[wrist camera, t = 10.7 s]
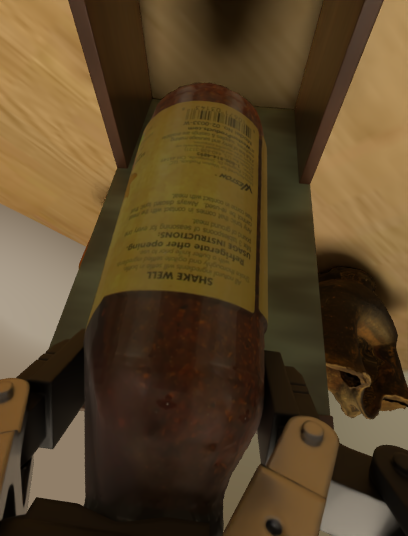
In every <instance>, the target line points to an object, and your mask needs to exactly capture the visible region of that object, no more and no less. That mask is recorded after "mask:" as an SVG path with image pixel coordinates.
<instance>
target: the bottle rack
mask: <svg viewBox="0 0 408 536" xmlns="http://www.w3.org/2000/svg"><path fill="white" fill-rule="evenodd" d="M68 1H69V4H70V8H71V11H72V15H73V18H74V22H75V25H76V28H77V32H78V35H79V39H80V42H81V45H82V49H83V52H84V56H85V59H86V63H87V66H88V69H89V73H90V76H91V80H92V83H93V87H94V90H95V93H96V97H97V100H98V104H99V107H100V110H101V114H102V117H103V121H104V124H105V128H106V131H107V134H108V138H109V141H110V145H111V148H112V151H113V155H114V158H115V162H116V165H117V170H116V173H115V175H114V178H113V181H112V183H111V186H110V188H109V191H108V194H107V196H106V199H105V202H104V204H103V207H102V210H101V212H100V215H99V217H98V220H97V223H96V225H95V228H94V231H93V233H92V236H91V239H90V241H89V244H88V246H87V249H86V252H85V254H84V257H83V260H82V262H81V265H80V268H79V270H78V273H77V276H76V278H75V281H74V284H73V286H72V289H71V291H70V294H69V297H68V299H67V302H66V305H65V307H64V310H63V313H62V315H61V318H60V320H59V323H58V326H57V329H56V331H55V334H54V336H53V339H52V341H51V344H50V347H49V349H50V348H51V347H52V346H53V345H54V344H57V343H59V342H61V341H63V340H65V339H71V338H72V337H73V336H74V335H75V334H76V333H77V332H79V331H80V330H81V329H82V328H85V329H86V327H87V323H88V320H89V316H90V313H91V309H92V305H93V301H94V297H95V296H96V292H97V289H98V286H99V282H100V278H101V275H102V271H103V268H104V263H105V259H106V258H107V254H108V250H109V247H110V244H111V240H112V236H113V233H114V229H115V226H116V223H117V220H118V216H119V213H120V209H121V205H122V202H123V199H124V196H125V192H126V188H127V185H128V181H129V178H130V174H131V171H132V168H133V164H134V161H135V158H136V154H137V151H138V148H139V144H140V141H141V138H142V135H143V132H144V130H145V128H146V126H147V124H148V123H149V122H150V121H151V118H152V116H153V114H154V112H155V109H156V107H157V105H158V103H159V102H160V101H161V100H157V99H152V94H151V87H150V80H149V73H148V65H147V58H146V51H145V44H144V36H143V29H142V22H141V15H140V7H139V0H68ZM383 1H384V0H324V1H323V5H322V9H321V13H320V16H319V20H318V24H317V27H316V31H315V35H314V39H313V42H312V46H311V50H310V54H309V57H308V61H307V65H306V68H305V72H304V76H303V80H302V83H301V87H300V91H299V94H298V98H297V102H296V106H295V109H294V110H293V109H280V108H266V107H254V108H255V110H256V111H257V113H258V115H259V118H260V121H261V125H262V128H263V134H264V139H265V143H266V147H267V240H268V327H267V331H266V332H265V334H264V342H265V348H264V350H268V351H276V352H280V353H281V356H282V359H283V362H284V365H285V366H291V367H294V368H295V369H296V370H297V371H298V372H299V373H300V374H301V375H302V376H303V378H304V381H305V383H306V387H307V388H308V391H309V394H310V396H311V398H312V401H313V403H314V406H315V408H316V411H317V413H318V416H319V418H320V420H321V421H323V422H325V423H326V424H327V425H329V426H330V427H331V428H332V429H333V430H334V425H333V417H332V416H330V409H329V398H328V385H327V374H326V362H325V351H324V339H323V328H322V316H321V305H320V294H319V282H318V271H317V259H316V248H315V236H314V225H313V213H312V202H311V190H310V183H311V181H312V178H313V176H314V173H315V171H316V168H317V166H318V163H319V161H320V158H321V156H322V153H323V151H324V148H325V146H326V143H327V141H328V138H329V136H330V133H331V131H332V128H333V126H334V123H335V121H336V118H337V116H338V113H339V111H340V108H341V106H342V103H343V101H344V98H345V96H346V93H347V91H348V88H349V86H350V83H351V81H352V78H353V76H354V73H355V71H356V68H357V66H358V63H359V61H360V58H361V56H362V53H363V51H364V48H365V46H366V43H367V41H368V38H369V36H370V33H371V31H372V28H373V26H374V23H375V21H376V18H377V16H378V13H379V11H380V8H381V6H382V3H383ZM79 411H85V403H84V405H83V406H82V408H81V409H80V410H79ZM255 433H256V434H258V433H257V430H256V432H255Z"/></svg>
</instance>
